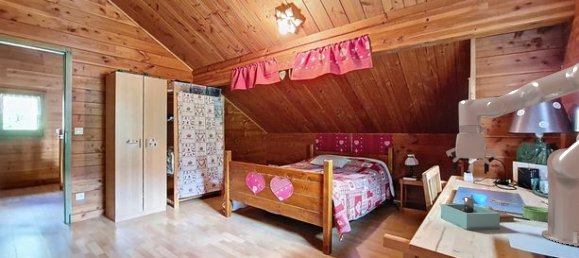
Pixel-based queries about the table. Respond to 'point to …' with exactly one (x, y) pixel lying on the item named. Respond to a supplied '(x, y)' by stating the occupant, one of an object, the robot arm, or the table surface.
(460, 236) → the table surface
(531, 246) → the table surface
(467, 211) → the square base knob
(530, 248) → the table surface
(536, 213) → the ramekin
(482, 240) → the table surface
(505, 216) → the stud plate
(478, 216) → the bin
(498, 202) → the adjustable wrench
